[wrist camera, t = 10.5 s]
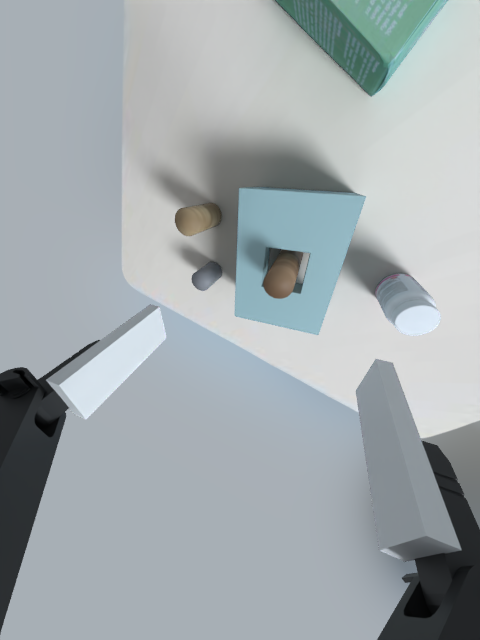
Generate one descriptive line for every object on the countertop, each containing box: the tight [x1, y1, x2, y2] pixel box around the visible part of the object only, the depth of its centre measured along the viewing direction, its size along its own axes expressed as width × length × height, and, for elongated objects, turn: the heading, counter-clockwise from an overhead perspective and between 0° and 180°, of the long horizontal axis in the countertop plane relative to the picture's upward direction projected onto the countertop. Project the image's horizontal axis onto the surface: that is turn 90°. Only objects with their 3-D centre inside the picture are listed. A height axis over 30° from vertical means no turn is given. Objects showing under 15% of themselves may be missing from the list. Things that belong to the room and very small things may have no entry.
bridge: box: [235, 187, 366, 335], centre depth 27 cm, size 16×12×8 cm
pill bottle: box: [375, 274, 441, 336], centre depth 25 cm, size 5×5×8 cm
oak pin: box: [175, 203, 221, 236], centre depth 28 cm, size 3×3×8 cm
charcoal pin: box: [192, 262, 222, 291], centre depth 34 cm, size 3×3×5 cm
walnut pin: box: [263, 249, 303, 299], centre depth 26 cm, size 3×3×12 cm
